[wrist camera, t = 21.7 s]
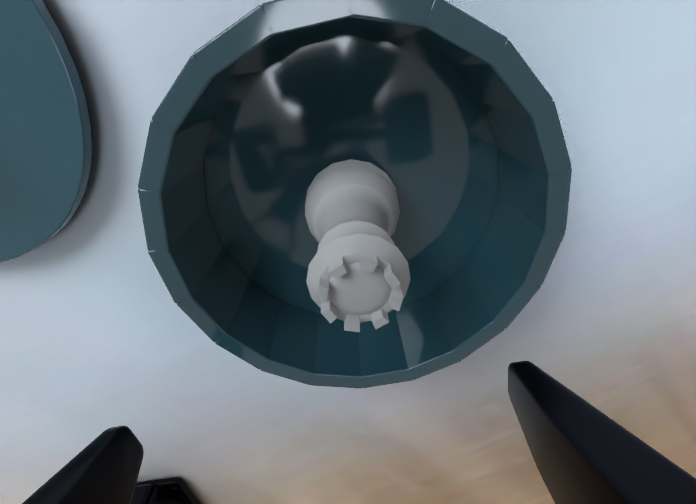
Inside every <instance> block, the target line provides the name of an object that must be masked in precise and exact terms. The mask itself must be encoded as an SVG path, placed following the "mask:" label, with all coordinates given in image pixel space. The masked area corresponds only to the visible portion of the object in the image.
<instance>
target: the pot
mask: <svg viewBox="0 0 696 504" xmlns="http://www.w3.org/2000/svg"><path fill="white" fill-rule="evenodd" d="M552 100H553V99H552V97H551V96H550V94H549V93H548V92H547V90H546V89H545V88H544V86H543V85H542V84H541V82H540V81H539V80H538V78H537V77H536V76H535V74H534V73H533V72H532V70H531V69H530V68H529V66H528V65H527V64H526V62H525V61H524V60H523V58H522V57H521V56H520V54H519V53H518V51H517V50H516V49H515V47H514V46H513V45H512V43H511V42H510V41H509V40H507V37H505V36H503V35H502V34H500V33H498V32H497V31H495V30H493V29H492V28H490V27H488V26H487V25H485V24H483V23H482V22H480V21H478V20H477V19H475V18H473V17H472V16H470V15H468V14H467V13H465V12H463V11H462V10H460V9H458V8H456V7H455V6H453V5H451V4H450V3H448V2H446V1H445V0H274V1H270V2H266V3H263V4H262V5H259V6H257V7H256V8H255V9H253V10H252V11H251V12H249V13H248V14H246V15H245V16H244V17H242V18H241V19H239V20H238V21H237V22H235V23H234V24H232V25H231V26H230V27H228V28H227V29H226V30H224V31H223V32H221V33H220V34H219V35H217V36H216V37H214V38H213V39H212V40H210V41H209V42H208V43H206V44H205V45H203V46H202V47H201V48H199V49H198V50H196V51H195V52H194V55H192V56H191V57H190V58H189V60H188V61H187V63H186V65H185V66H184V68H183V69H182V71H181V73H180V74H179V76H178V77H177V79H176V80H175V82H174V84H173V85H172V87H171V88H170V90H169V91H168V93H167V95H166V96H165V98H164V99H163V101H162V103H161V104H160V106H159V107H158V109H157V110H156V112H155V114H154V115H153V117H152V121H151V122H150V127H149V132H148V138H147V143H146V148H145V153H144V158H143V164H142V169H141V174H140V179H139V184H138V188H139V189H138V193H139V199H140V205H141V211H142V217H143V223H144V229H145V236H146V242H147V248H148V250H149V255H150V257H151V258H152V260H153V262H154V264H155V266H156V268H157V270H158V272H159V274H160V275H161V277H162V279H163V281H164V283H165V285H166V287H167V289H168V291H169V292H170V294H171V296H172V298H173V300H174V302H175V303H177V305H178V306H179V307H180V308H181V309H182V310H183V311H184V312H185V313H186V314H187V315H188V316H189V317H190V318H191V319H192V320H193V321H194V322H195V323H196V325H197V326H198V327H199V328H200V329H201V330H202V331H203V332H204V333H205V334H206V335H207V336H208V337H209V338H210V339H211V340H212V341H213V342H215V343H216V344H217V345H219V346H220V347H222V348H224V349H226V350H227V351H229V352H231V353H232V354H234V355H236V356H238V357H239V358H241V359H243V360H244V361H246V362H248V363H249V364H251V365H253V366H255V367H256V368H258V369H261V371H264V372H268V373H271V374H274V375H278V376H281V377H285V378H288V379H291V380H295V381H298V382H301V383H305V384H308V385H310V384H311V385H315V386H331V387H347V388H367V387H374V386H380V385H386V384H392V383H399V382H405V381H411V380H412V379H413V380H415V379H417V378H420V377H422V376H425V375H427V374H430V373H432V372H435V371H437V370H440V369H442V368H445V367H447V366H450V365H452V364H455V363H457V362H460V361H461V360H462V359H464V358H466V357H467V356H468V355H470V354H471V353H473V352H474V351H475V350H477V349H478V348H480V347H481V346H482V345H484V344H485V343H487V342H488V341H489V340H491V339H492V338H494V337H495V336H496V335H498V334H499V333H501V332H502V331H503V330H504V328H507V327H508V326H509V324H510V323H511V322H512V321H513V320H514V318H515V317H516V316H517V315H518V314H519V313H520V311H521V310H522V309H523V308H524V307H525V305H526V304H527V303H528V302H529V301H530V299H531V298H532V297H533V296H534V295H535V293H536V292H537V291H538V290H539V289H540V287H541V285H542V284H543V282H544V280H545V277H546V275H547V273H548V271H549V268H550V266H551V264H552V261H553V259H554V257H555V255H556V252H557V250H558V248H559V245H560V243H561V241H562V239H563V236H564V234H565V230H566V223H567V213H568V203H569V192H570V182H571V171H572V170H571V163H570V159H569V155H568V151H567V148H566V144H565V140H564V136H563V133H562V129H561V125H560V121H559V117H558V114H557V110H556V106H555V102H554V101H552ZM350 159H353V160H359V161H364V162H369V163H372V164H373V165H375V166H376V167H378V168H379V169H381V170H382V171H384V172H385V173H387V175H388V177H389V178H390V180H391V181H392V183H393V184H394V186H395V187H396V191H397V196H398V203H399V209H400V214H399V218H398V221H397V225H396V229H395V232H394V233H393V234H392V236H391V237H390V238H391V239H392V240H393V242H394V244H395V246H396V247H398V249H399V250H400V252H401V253H402V255H403V256H404V257H405V259H406V260H407V262H408V266H409V273H410V279H411V280H410V283H409V286H408V289H407V292H406V295H405V297H404V298H403V301H402V304H401V307H400V310H399V311H397V310H392V311H390V312H388V318H389V323H387V324H385V325H383V326H381V327H380V328H378V329H375V327H374V325H373V323H372V321H366V322H361V323H360V332H353V331H345V330H344V321H343V320H340V319H338V318H337V319H335V320H334V321H333V322H332V323H331V324H330V323H329V321H328V320H327V319H326V318H325V317H324V316H323V315H322V314H321V308H320V307H319V306H318V305H317V304H316V303H315V302H314V301H313V299H312V298H311V295H310V292H309V289H308V286H307V283H306V280H307V274H308V267H309V264H310V262H311V261H312V259H313V258H314V256H315V255H316V253H317V250H318V244H319V243H318V241H317V240H316V239H315V238H314V236H313V235H312V234H311V232H310V231H309V227H308V224H307V220H306V217H305V202H306V195H307V189H308V188H309V186H310V185H311V183H312V181H313V180H314V178H315V176H316V175H317V174H318V173H319V172H321V171H322V170H324V169H325V168H327V167H328V166H329V165H331V164H332V163H336V162H341V161H346V160H350Z"/></svg>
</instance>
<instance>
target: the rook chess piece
mask: <svg viewBox="0 0 696 504" xmlns="http://www.w3.org/2000/svg"><path fill="white" fill-rule="evenodd" d="M399 214H400V209H399V203H398V196H397V191H396V187H395V186H394V184H393V183H392V181H391V180H390V178H389V177H388V175H387V173H385V172H384V171H382V170H381V169H379V168H378V167H376V166H375V165H373V164H372V163H369V162H364V161H359V160H353V159H350V160H346V161H341V162H336V163H332V164H331V165H329V166H328V167H327V168H325V169H324V170H322V171H321V172H319V173H318V174H317V175H316V176H315V178H314V180H313V181H312V183H311V185H310V186H309V188H308V189H307V195H306V202H305V217H306V220H307V224H308V227H309V231H310V232H311V234H312V235H313V236H314V238H315V239H316V240H317V241H318V243H319V244H318V250H317V253H316V255H315V256H314V258H313V259H312V261H311V262H310V264H309V267H308V274H307V280H306V283H307V286H308V289H309V292H310V295H311V298H312V299H313V301H314V302H315V303H316V304H317V305H318V306H319V307H320V308H321V314H322V315H323V316H324V317H325V318H326V319H327V320H328V321H329V323H330V324H331V323H332V322H333V321H334V320H335V319H337V318H338V319H340V320H343V321H344V330H345V331H353V332H360V323H361V322H366V321H372V323H373V325H374V327H375V329H378V328H380V327H381V326H383V325H385V324H387V323H389V318H388V312H390V311H392V310H397V311H399V310H400V307H401V304H402V301H403V298H404V297H405V295H406V292H407V289H408V286H409V283H410V280H411V279H410V273H409V266H408V262H407V260H406V259H405V257H404V256H403V255H402V253H401V252H400V250H399V249H398V247H396V246H395V244H394V242H393V240H392V239H391V238H390V237H391V236H392V234H393V233H394V232H395V229H396V225H397V221H398V218H399Z"/></svg>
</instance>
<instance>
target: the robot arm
mask: <svg viewBox="0 0 696 504" xmlns="http://www.w3.org/2000/svg"><path fill="white" fill-rule="evenodd" d="M508 392H509V396H510V400H511V402H512V405H513V407H514V410H515V412H516V415H517V417H518V420H519V422H520V425H521V428H522V430H523V433H524V435H525V438H526V440H527V443H528V445H529V448H530V450H531V453H532V455H533V458H534V460H535V463H536V465H537V468H538V470H539V472H540V474H541V476H542V478H543V480H544V482H545V484H546V486H547V488H548V490H549V492H550V494H551V496H552V498H553V500H554V502H555V504H696V479H695V478H694V477H693V476H691V475H690V474H688V473H687V472H685V471H684V470H683V469H681V468H680V467H678V466H677V465H676V464H674V463H673V462H671V461H670V460H668V459H667V458H666V457H664V456H663V455H661V454H660V453H659V452H657V451H656V450H654V449H653V448H651V447H650V446H649V445H647V444H646V443H644V442H643V441H642V440H640V439H639V438H637V437H636V436H634V435H633V434H632V433H630V432H629V431H627V430H626V429H625V428H623V427H622V426H620V425H619V424H618V423H616V422H615V421H613V420H612V419H610V418H609V417H608V416H606V415H605V414H603V413H602V412H601V411H599V410H598V409H596V408H595V407H593V406H592V405H591V404H589V403H588V402H586V401H585V400H584V399H582V398H581V397H579V396H578V395H576V394H575V393H574V392H572V391H571V390H569V389H568V388H567V387H565V386H564V385H562V384H561V383H559V382H558V381H557V380H555V379H554V378H552V377H551V376H550V375H548V374H547V373H545V372H544V371H542V370H541V369H540V368H538V367H537V366H535V365H534V364H533V363H531V362H529V361H521V362H515V363H511V364H510V365H509V367H508ZM142 459H143V446H142V445H141V443H140V442H139V440H138V439H137V438H136V436H135V435H134V434H133V432H132V431H131V430H130V429H129V428H128V427H127V426H119V427H113V428H109V429H107V430H105V431H104V432H103V433H102V434H101V435H99V436H98V437H97V438H96V439H95V440H94V441H93V442H91V443H90V444H89V445H88V446H87V447H86V448H85V449H83V450H82V451H81V452H80V453H79V454H78V455H77V456H76V457H74V458H73V459H72V460H71V461H70V462H69V463H68V464H66V465H65V466H64V467H63V468H62V469H61V470H60V471H59V472H57V473H56V474H55V475H54V476H53V477H52V478H51V479H49V480H48V481H47V482H46V483H45V484H44V485H43V486H41V487H40V488H39V489H38V490H37V491H36V492H35V493H34V494H32V495H31V496H30V497H29V498H28V499H27V500H26V501H24V502H23V503H22V504H199V503H198V502H197V500H196V499H195V497H194V496H193V495H192V493H191V492H190V491H189V489H188V488H187V487H186V485H185V484H184V482H183V481H182V480H181V479H179V478H167V479H161V480H154V481H147V482H140V483H136V482H137V478H138V474H139V470H140V467H141V463H142Z"/></svg>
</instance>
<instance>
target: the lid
mask: <svg viewBox="0 0 696 504" xmlns="http://www.w3.org/2000/svg"><path fill="white" fill-rule="evenodd" d="M91 155H92V139H91V124H90V118H89V113H88V108H87V103H86V98H85V94H84V91H83V88H82V85H81V82H80V78H79V75H78V72H77V69H76V66H75V64H74V62H73V59H72V57H71V55H70V52H69V50H68V48H67V46H66V43H65V41H64V39H63V37H62V34H61V33H60V31H59V29H58V27H57V25H56V24H55V22H54V20H53V18H52V17H51V15H50V13H49V11H48V9H47V8H46V6H45V4H44V2H43V1H42V0H0V262H2V261H5V260H9V259H13V258H16V257H18V256H21V255H23V254H25V253H27V252H29V251H32V250H34V249H35V248H37V247H39V246H40V245H42V244H43V243H45V242H46V241H48V240H49V239H50V238H52V237H53V236H55V235H56V234H57V233H58V232H59V231H60V230H61V229H62V228H63V227H64V226H65V225H66V224H67V223H68V221H69V220H70V218H71V217H72V216H73V214H74V213H75V211H76V210H77V208H78V206H79V204H80V202H81V199H82V197H83V195H84V192H85V190H86V186H87V182H88V178H89V174H90V168H91Z"/></svg>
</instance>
